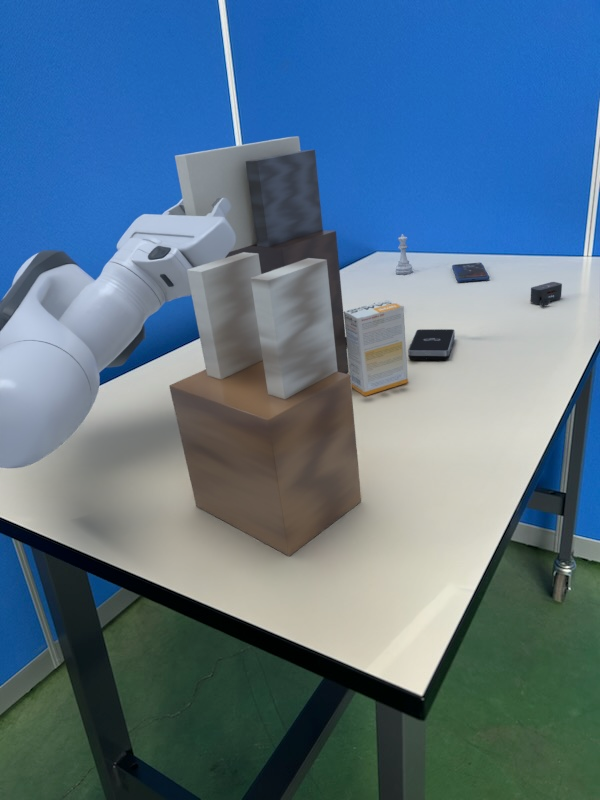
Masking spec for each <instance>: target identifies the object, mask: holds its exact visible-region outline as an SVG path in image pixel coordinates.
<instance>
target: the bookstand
mask: <svg viewBox="0 0 600 800" xmlns="http://www.w3.org/2000/svg"><path fill="white" fill-rule="evenodd" d="M316 157H317V155H316V149H305V150H304V149H303V150H300V151H298V152H292V153H287V154H281V155H276V156H271V157H265V158H260V159H255V160H249V161H246V168H247V175H248V182H249V189H250V196H251V203H252V210H253V217H254V224H255V231H256V238H257V244H254V245H251V246H248V247H245V248H241V249H238V250H235V251H231V252H229V253H228V255H227V256H226V257H225V258H227V257H230V256H233V255H236V254H240V253H243V252H246V253H257V254H259V261H260V268H261V274H264V273H267V272H270V271H272V270H275V269H278V268H281V267H284V266H287V265H290V264H293V263H296V262H299V261H301V260H304V259H307V258H314V259H325V260H327V268H328V279H329V289H330V299H331V309H332V320H333V330H334V340H335V350H336V360H337V372H341V373H345V374H348V373H350V369H349V359H348V349H347V345H346V329H345V320H344V305H343V294H342V282H341V281H342V280H341V273H340V272H341V271H340V260H339V250H338V249H339V248H338V240H337V239H338V237H337V230H324V228H323V226H324V225H323V216H322V208H321V207H322V206H321V196H320V195H321V194H320V185H319V175H318V167H317V158H316Z"/></svg>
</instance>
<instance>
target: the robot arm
mask: <svg viewBox="0 0 600 800" xmlns="http://www.w3.org/2000/svg"><path fill="white" fill-rule="evenodd" d="M212 207H213V211H212V213H208V214H207V215H206V216H186V214H185V208H184V203H183V198H182V197H181V199H180V200H179V201H178V203H177V204H175V205H173V206H172V207H169V208H168V209H167V210H164V212H163V213H162V214H152V213H143V214H141V215H140V216H138V217H137V218H135V219H134V220H133V222H132V223H131V225H130V226H129V227H128V228H127V229H126V230H125V232H124V233H123V234H122V236H121V237H120V238H119V240H118V242H117V244H116V249H117V251H116V252H115V253H114V254H113V255H112V257H111V258H110V259H109V260H108V261H107V263H105V264H104V266H103V268H102V271H101V272H100V274H99V276H98V277H96V279H94V278H93V277H92V276H91V275H90V274H89V273H87V272H86V271H84V270H83V269H82V268H81V266H80V265H79V264H78V263H77V262H76V261H75V260H74V259H73V258H71V256H70V255H69V254H67V253H66V252H65V251H64V250H54V249H53V250H52V249H51V250H50V249H48V250H46V249H45V250H40V251H39V252H37V253H35V254H33V255H32V256H30V257H29V258H28V259H26V261H25V262H23V263H22V265H21V266H20V267H19V269H18V270H17V272H16V273H15V275H14V277H13V280H12V283H11V286H10V288H9V289H8V291H7V292H6V293H5V295H4V296H3V297H2V298H1V300H0V469H19V468H20V469H21V468H24V467H27V466H28V467H29V466H31V465H33V464H36V463H37V462H40V461H41V460H43V459H44V458H46V457H48V455H50V454H52V453H53V452H54V451H56V450H57V449H58V448H59V447H61V446H62V445H63V444H64V443H65V442H66V441H67V440H68V439H70V438H71V436H72V435H73V434H74V433H76V431H77V430H78V429H79V427H80V426H81V424H82V423H84V421H85V419H86V418H87V417H88V415H89V413H90V411H91V410H92V409H93V406H94V404H95V402H96V399H97V397H98V394H99V391H100V390H99V389H100V384H101V383H100V382H101V380H100V373H101V372H102V371H103V370H104V369H105V368H117V367H121V366H123V365H124V364H126V362H127V361H128V359H129V358H130V357H131V355H132V354H133V352H134V351H135V350H136V349H137V347H138V346H139V345H140V344H141V343H142V342H143V341H144V340H145V339H146V327H145V322H146V321H147V320H148V319H149V317H151V316H152V315H153V314H155V313H157V312H158V311H159V310H160V309H161V308H162V306H163V305H164V304H165V303H166V302H167V303H168V302H171V301H173V300H177V299H179V298H183V297H190V296H192V295H191V289H190V284H189V279H188V274H187V270H188V269H191V268H194V267H197V266H201V265H204V264H207V263H210V262H214V261H217V260H220V259H223V258H225V257H226V256H227V255H228V253H229V252H230V251H231V249H232V248H233V246H234V245H235V242H236V234H235V232H234V230H233V229H232V227H231V226H230V224H229V223H228V221H227V220H226V219H225V215H226V214H227V213H228V211H229V210H230V209H231V204H230V203H229V201H228V200H227V199H226V198H217V199H216V201H215V202H214V203H213V204H212Z"/></svg>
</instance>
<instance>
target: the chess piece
mask: <svg viewBox="0 0 600 800" xmlns="http://www.w3.org/2000/svg"><path fill="white" fill-rule="evenodd" d="M397 240H398V241H399V245H398V247H397V248H398V250H400V257H399V261H398V264H397V265H396V266H395V274H396V275H398V276H399V275H400V276H405V275H410V274H412V273H413V270H414V269H413V265H412V264H411V263H410V260H408V257H407V251H406V249H408V248H409V247H408V245H407V243H406V241H407V240H408V237H407V236H405V235H404V233H402V234H401V235H400V237H398V238H397Z"/></svg>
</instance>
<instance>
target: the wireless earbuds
mask: <svg viewBox="0 0 600 800" xmlns="http://www.w3.org/2000/svg"><path fill="white" fill-rule="evenodd" d="M562 290H563V283H562V282H556V281H551V282H546V283H543V284H539V285H536V286H531V287H530V300H529V301H530V303H531V304H535V305H538V306H540V307H545V306H548V305H550V303H552V302H555V301H558V300H560V299H561V298H562Z"/></svg>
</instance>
